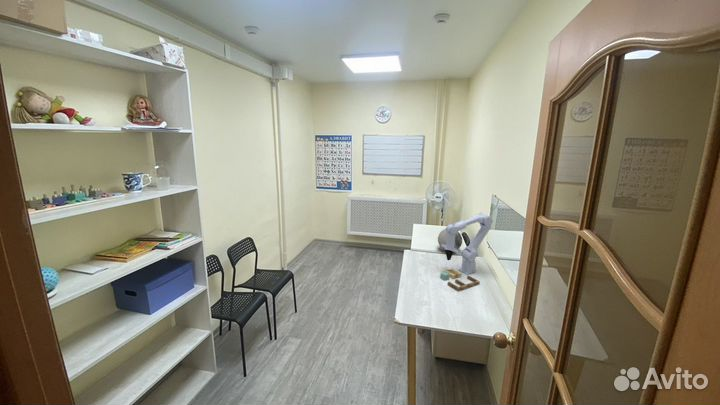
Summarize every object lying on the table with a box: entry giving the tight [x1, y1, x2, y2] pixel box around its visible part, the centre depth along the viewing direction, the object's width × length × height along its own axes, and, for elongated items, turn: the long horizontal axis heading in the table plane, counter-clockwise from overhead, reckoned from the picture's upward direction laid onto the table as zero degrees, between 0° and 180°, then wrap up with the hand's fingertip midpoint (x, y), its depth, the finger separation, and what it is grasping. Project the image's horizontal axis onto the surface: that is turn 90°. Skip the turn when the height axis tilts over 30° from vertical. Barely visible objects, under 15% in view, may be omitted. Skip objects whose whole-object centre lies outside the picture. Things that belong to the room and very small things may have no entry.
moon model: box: [437, 228, 463, 251], centre depth 234 cm, size 20×20×20 cm
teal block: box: [440, 271, 450, 282], centre depth 186 cm, size 4×4×4 cm
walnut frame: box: [447, 275, 481, 292], centre depth 179 cm, size 20×9×2 cm, turn 119°
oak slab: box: [444, 268, 463, 280], centre depth 192 cm, size 8×8×3 cm
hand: (448, 259), depth 194 cm, fingers closed
